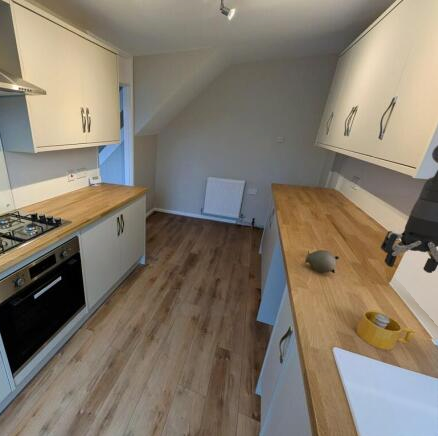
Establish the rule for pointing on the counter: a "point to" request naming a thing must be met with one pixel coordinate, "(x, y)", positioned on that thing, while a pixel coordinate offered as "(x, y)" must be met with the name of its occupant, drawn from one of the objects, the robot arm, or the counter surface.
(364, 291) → the counter surface
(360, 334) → the mug
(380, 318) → the rook chess piece
